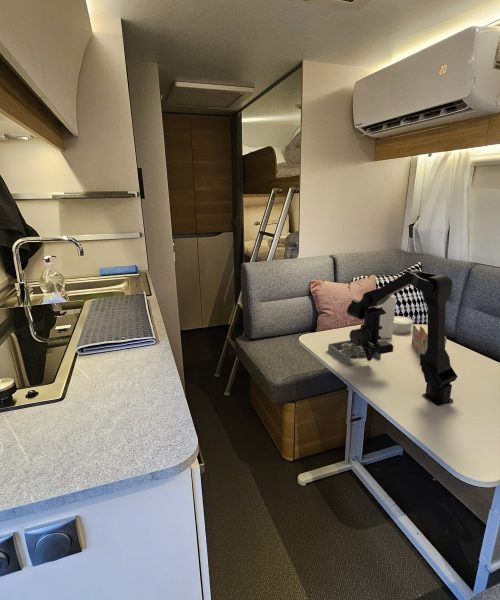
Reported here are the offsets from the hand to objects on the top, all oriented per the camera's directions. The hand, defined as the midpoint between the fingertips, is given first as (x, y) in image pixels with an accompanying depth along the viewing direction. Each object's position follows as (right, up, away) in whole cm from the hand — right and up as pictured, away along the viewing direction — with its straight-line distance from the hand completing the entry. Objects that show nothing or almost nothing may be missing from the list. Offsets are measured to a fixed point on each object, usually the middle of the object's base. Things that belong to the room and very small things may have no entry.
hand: (368, 360), depth 135 cm
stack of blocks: (+26, +1, +8) cm, 28 cm away
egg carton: (-2, +1, +11) cm, 11 cm away
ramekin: (+27, +9, +34) cm, 44 cm away
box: (-3, +1, +9) cm, 10 cm away
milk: (+16, +7, +28) cm, 33 cm away
